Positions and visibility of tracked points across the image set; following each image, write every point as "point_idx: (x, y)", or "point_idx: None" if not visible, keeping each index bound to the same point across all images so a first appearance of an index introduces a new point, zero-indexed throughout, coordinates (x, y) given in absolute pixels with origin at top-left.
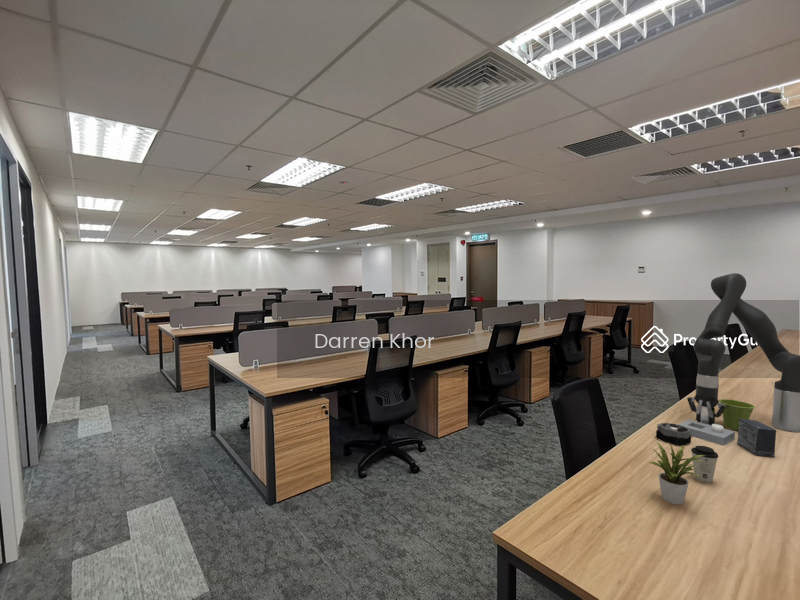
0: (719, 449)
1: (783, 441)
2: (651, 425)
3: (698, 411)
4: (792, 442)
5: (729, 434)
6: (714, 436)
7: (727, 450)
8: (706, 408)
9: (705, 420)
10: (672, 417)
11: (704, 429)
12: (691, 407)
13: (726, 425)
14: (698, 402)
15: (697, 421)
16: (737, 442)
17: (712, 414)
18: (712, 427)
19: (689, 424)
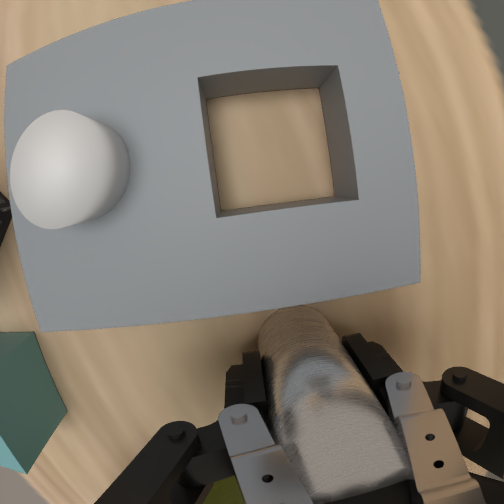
0: (41, 2)
1: (31, 468)
2: (475, 25)
3: (402, 396)
4: (25, 477)
5: (12, 201)
6: (65, 43)
7: (13, 35)
8: (320, 468)
9: (291, 352)
10: (495, 335)
11: (172, 91)
12: (486, 387)
13: (225, 479)
14: (473, 487)
15: (359, 334)
16: (3, 205)
17: (230, 434)
18: (94, 121)
19: (346, 124)
